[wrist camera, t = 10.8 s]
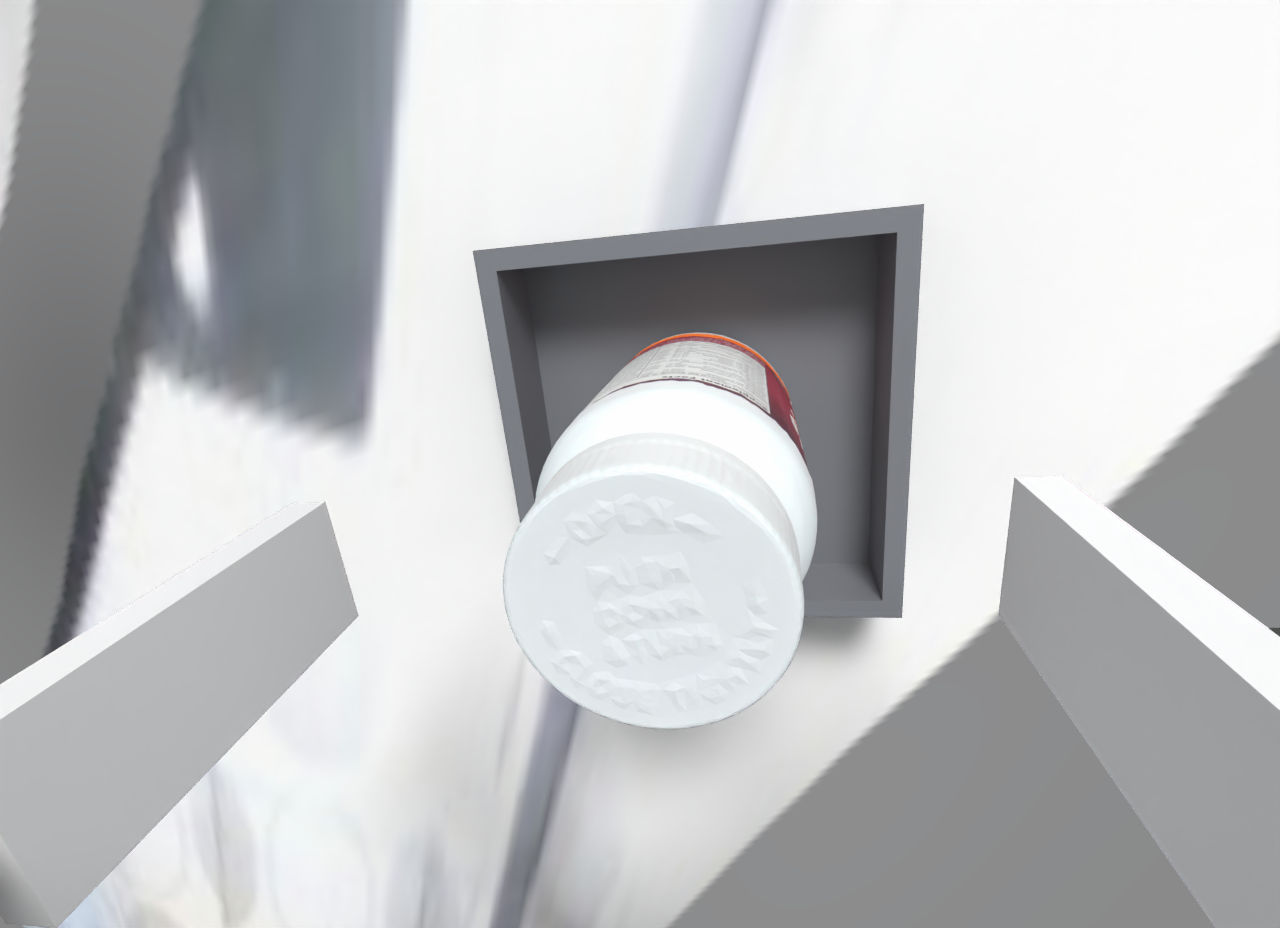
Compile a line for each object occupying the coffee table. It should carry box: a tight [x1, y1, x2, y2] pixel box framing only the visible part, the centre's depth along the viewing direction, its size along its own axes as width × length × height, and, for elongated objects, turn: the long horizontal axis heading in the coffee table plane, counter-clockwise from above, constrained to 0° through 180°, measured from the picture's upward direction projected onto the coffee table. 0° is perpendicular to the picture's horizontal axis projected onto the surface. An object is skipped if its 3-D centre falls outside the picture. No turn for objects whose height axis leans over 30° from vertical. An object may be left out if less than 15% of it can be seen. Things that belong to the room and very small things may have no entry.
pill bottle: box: [503, 332, 817, 729], centre depth 16 cm, size 6×6×11 cm
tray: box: [473, 204, 924, 618], centre depth 20 cm, size 12×12×3 cm
